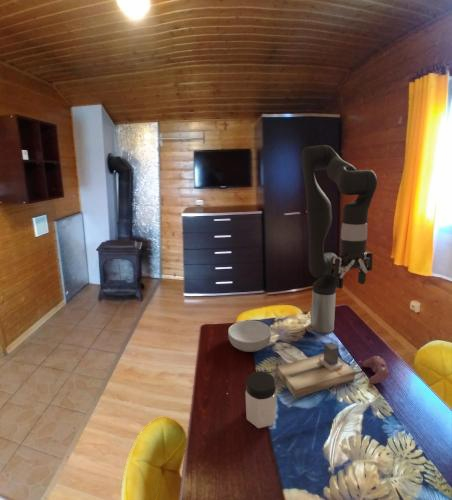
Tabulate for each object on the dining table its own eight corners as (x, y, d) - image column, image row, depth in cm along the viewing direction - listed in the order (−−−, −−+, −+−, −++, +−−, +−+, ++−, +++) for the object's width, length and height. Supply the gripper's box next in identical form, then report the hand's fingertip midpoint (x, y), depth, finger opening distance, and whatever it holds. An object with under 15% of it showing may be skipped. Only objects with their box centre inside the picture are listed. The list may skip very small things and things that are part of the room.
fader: (318, 360, 104) (319, 342, 102) (331, 356, 106) (331, 339, 104) (329, 371, 99) (330, 352, 97) (342, 367, 100) (343, 348, 98)
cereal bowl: (280, 347, 118) (280, 331, 116) (246, 364, 109) (245, 347, 107) (252, 330, 132) (252, 315, 130) (220, 343, 123) (219, 328, 121)
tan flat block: (277, 373, 104) (277, 366, 103) (331, 358, 110) (331, 350, 109) (295, 398, 93) (295, 389, 92) (354, 379, 99) (355, 371, 98)
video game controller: (381, 389, 96) (394, 374, 94) (368, 383, 97) (380, 367, 94) (372, 369, 106) (384, 354, 103) (360, 363, 106) (371, 348, 104)
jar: (250, 431, 82) (249, 394, 79) (242, 408, 90) (241, 374, 86) (281, 423, 84) (281, 387, 81) (271, 402, 91) (270, 368, 88)
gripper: (363, 232, 99) (359, 278, 104) (326, 237, 95) (324, 285, 99) (381, 236, 92) (376, 286, 97) (342, 242, 88) (339, 293, 92)
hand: (350, 285), depth 98 cm, fingers open, 8 cm apart
